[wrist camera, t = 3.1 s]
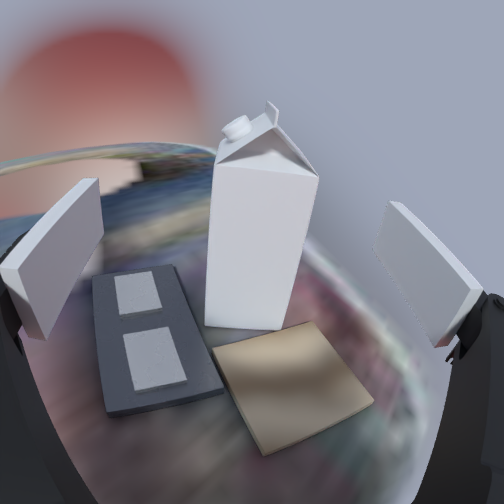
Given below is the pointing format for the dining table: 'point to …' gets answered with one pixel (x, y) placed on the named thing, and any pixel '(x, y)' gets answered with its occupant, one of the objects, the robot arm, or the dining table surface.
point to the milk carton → (256, 223)
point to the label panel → (149, 343)
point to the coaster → (289, 385)
